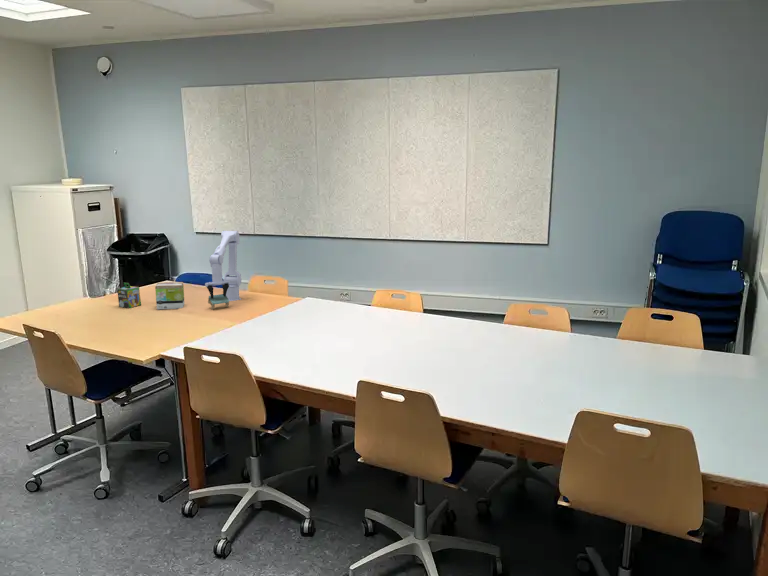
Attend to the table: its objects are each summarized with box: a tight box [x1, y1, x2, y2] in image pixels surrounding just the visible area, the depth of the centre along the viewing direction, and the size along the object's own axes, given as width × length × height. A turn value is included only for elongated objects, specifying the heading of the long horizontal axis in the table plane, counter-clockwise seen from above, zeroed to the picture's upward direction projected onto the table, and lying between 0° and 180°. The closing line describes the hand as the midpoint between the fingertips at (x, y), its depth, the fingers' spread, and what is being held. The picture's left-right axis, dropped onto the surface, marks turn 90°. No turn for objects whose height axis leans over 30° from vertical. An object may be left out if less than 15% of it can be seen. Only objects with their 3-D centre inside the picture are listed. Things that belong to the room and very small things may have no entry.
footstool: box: [207, 293, 230, 311], centre depth 337 cm, size 7×10×5 cm
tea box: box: [154, 281, 185, 310], centre depth 339 cm, size 15×10×15 cm, turn 104°
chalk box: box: [116, 282, 142, 309], centre depth 341 cm, size 9×9×15 cm
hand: (218, 297), depth 336 cm, fingers open, 7 cm apart
